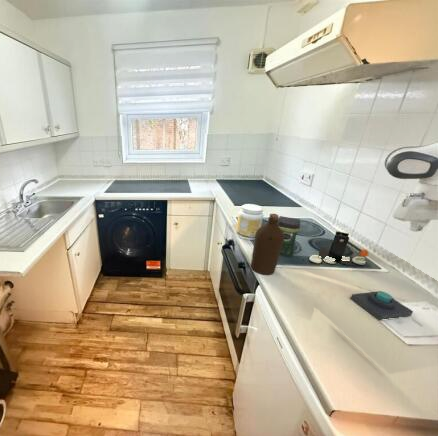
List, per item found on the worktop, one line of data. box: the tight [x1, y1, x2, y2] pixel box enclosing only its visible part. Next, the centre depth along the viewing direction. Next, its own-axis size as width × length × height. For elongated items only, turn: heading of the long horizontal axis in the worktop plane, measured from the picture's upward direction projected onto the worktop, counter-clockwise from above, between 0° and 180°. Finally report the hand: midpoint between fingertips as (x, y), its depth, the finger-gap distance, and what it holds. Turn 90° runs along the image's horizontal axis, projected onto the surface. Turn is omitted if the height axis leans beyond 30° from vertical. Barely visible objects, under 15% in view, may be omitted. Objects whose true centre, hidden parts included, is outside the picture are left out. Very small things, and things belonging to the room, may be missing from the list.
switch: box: [339, 233, 370, 258], centre depth 103 cm, size 13×3×3 cm, turn 55°
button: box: [376, 290, 393, 303], centre depth 79 cm, size 4×4×2 cm
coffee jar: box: [277, 215, 301, 258], centre depth 110 cm, size 10×8×19 cm
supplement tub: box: [235, 203, 264, 241], centre depth 128 cm, size 12×12×17 cm
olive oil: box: [250, 213, 284, 276], centre depth 97 cm, size 11×11×25 cm
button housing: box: [349, 290, 414, 321], centre depth 80 cm, size 12×10×4 cm
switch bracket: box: [318, 230, 353, 267], centre depth 106 cm, size 12×9×13 cm
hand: (415, 230), depth 83 cm, fingers closed
